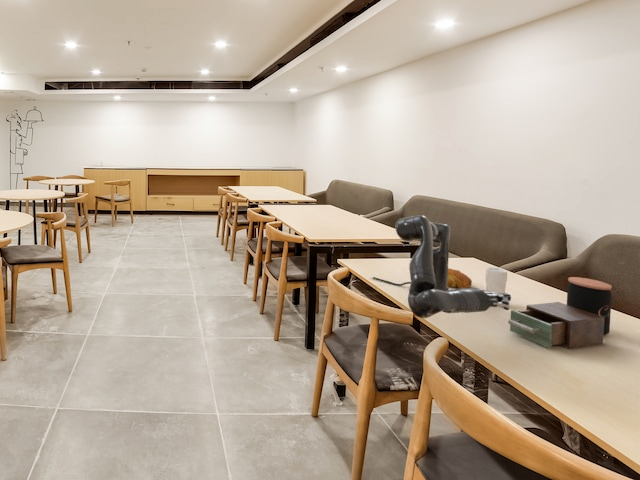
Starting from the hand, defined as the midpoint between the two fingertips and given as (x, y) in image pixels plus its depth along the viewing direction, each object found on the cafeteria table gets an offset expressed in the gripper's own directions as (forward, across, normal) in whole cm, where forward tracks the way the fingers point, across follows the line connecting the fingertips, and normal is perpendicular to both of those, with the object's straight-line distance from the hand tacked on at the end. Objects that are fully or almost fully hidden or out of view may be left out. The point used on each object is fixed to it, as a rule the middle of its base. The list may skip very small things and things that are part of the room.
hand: (507, 296), depth 124 cm
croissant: (+37, +49, +17) cm, 64 cm away
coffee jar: (+43, +3, +17) cm, 46 cm away
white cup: (+34, +27, +17) cm, 46 cm away
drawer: (+15, 0, +16) cm, 22 cm away
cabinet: (+26, 0, +17) cm, 31 cm away
